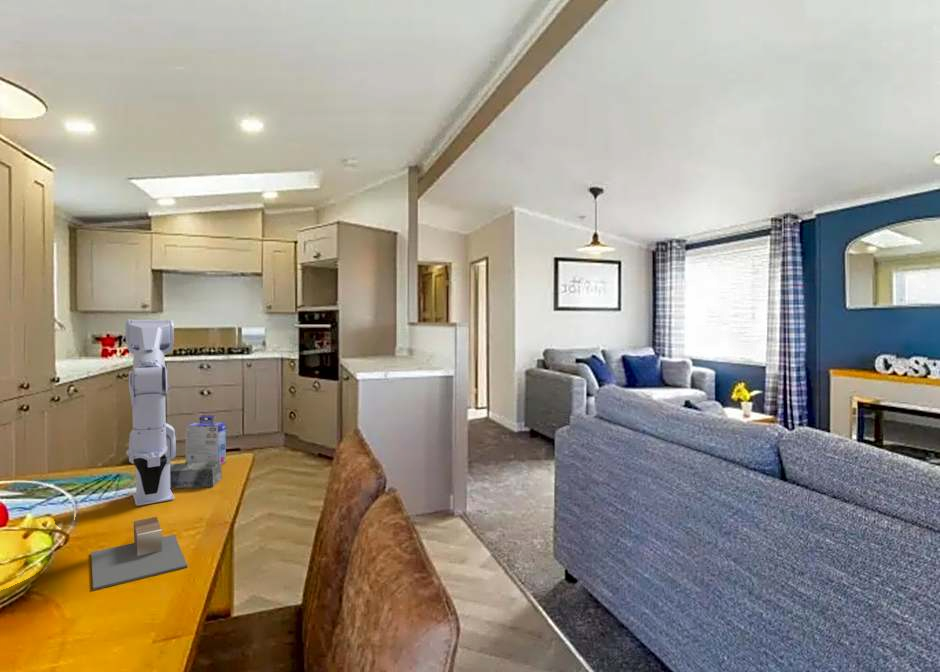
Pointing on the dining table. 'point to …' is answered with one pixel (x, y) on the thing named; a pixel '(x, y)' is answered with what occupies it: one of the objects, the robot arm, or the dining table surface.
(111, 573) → the mat
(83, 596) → the dining table surface
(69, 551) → the dining table surface
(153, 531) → the walnut block
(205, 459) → the ink cartridge box
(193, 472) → the stone block
